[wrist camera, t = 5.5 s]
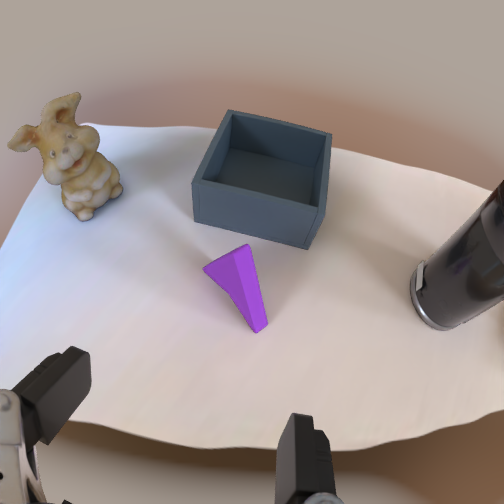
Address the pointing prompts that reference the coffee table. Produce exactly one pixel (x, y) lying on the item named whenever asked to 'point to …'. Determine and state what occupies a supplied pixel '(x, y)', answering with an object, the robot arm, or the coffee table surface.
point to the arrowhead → (240, 284)
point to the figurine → (71, 157)
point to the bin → (264, 179)
